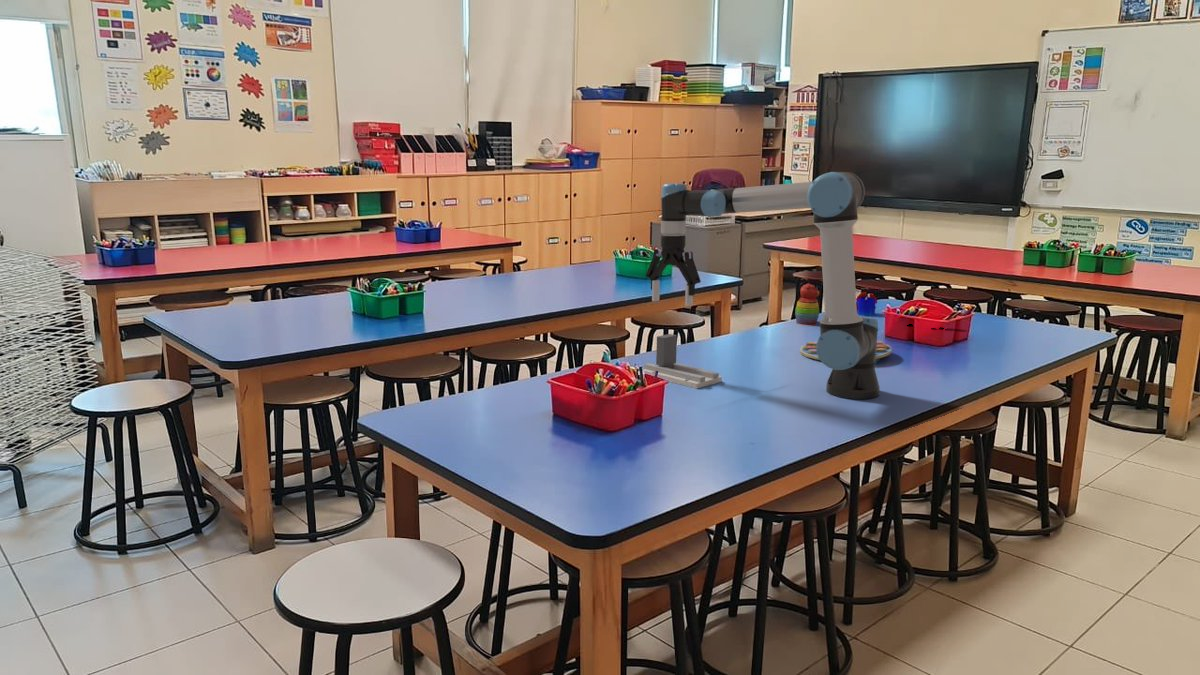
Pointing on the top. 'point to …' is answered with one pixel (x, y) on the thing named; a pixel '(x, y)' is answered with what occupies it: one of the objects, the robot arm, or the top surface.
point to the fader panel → (686, 383)
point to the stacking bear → (807, 306)
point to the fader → (666, 350)
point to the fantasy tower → (866, 304)
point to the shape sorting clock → (811, 352)
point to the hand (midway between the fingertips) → (672, 303)
